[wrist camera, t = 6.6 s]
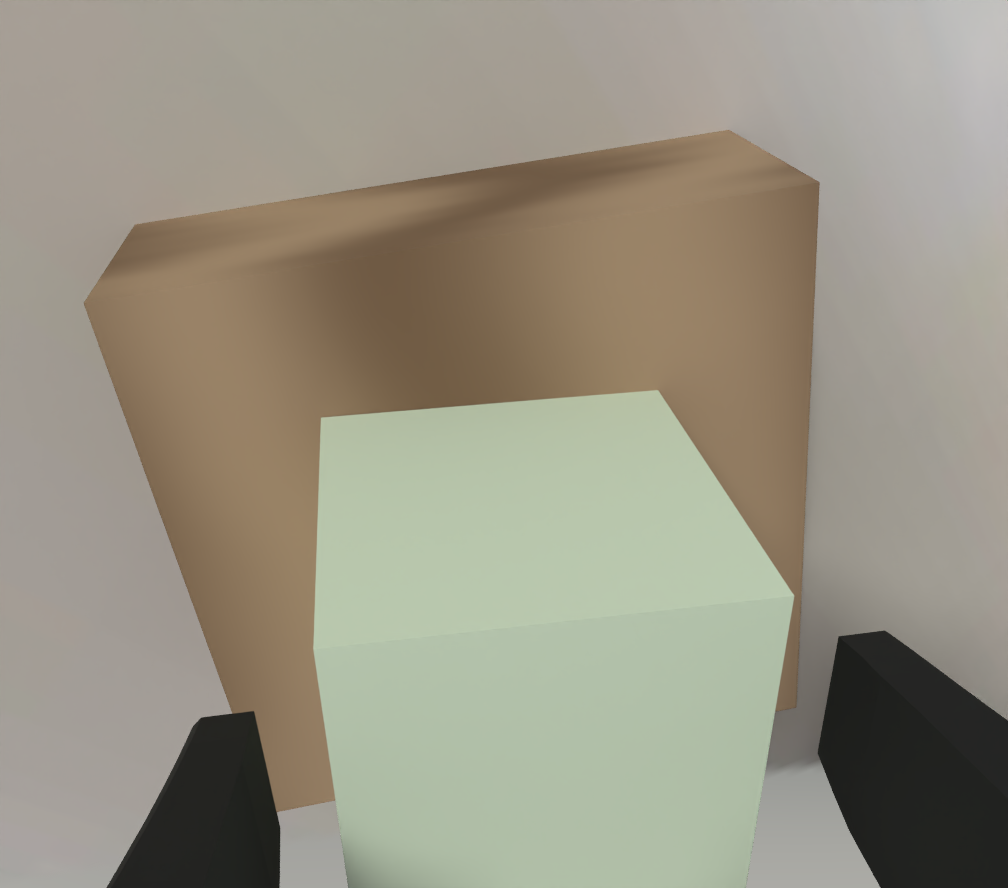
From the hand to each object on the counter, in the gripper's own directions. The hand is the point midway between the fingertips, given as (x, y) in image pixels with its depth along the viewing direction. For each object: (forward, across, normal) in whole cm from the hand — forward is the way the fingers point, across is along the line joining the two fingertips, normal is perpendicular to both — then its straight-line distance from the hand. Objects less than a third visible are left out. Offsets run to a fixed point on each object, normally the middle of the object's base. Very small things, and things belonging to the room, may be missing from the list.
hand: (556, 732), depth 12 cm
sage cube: (+4, 0, 0) cm, 4 cm away
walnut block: (+8, 0, 0) cm, 8 cm away
